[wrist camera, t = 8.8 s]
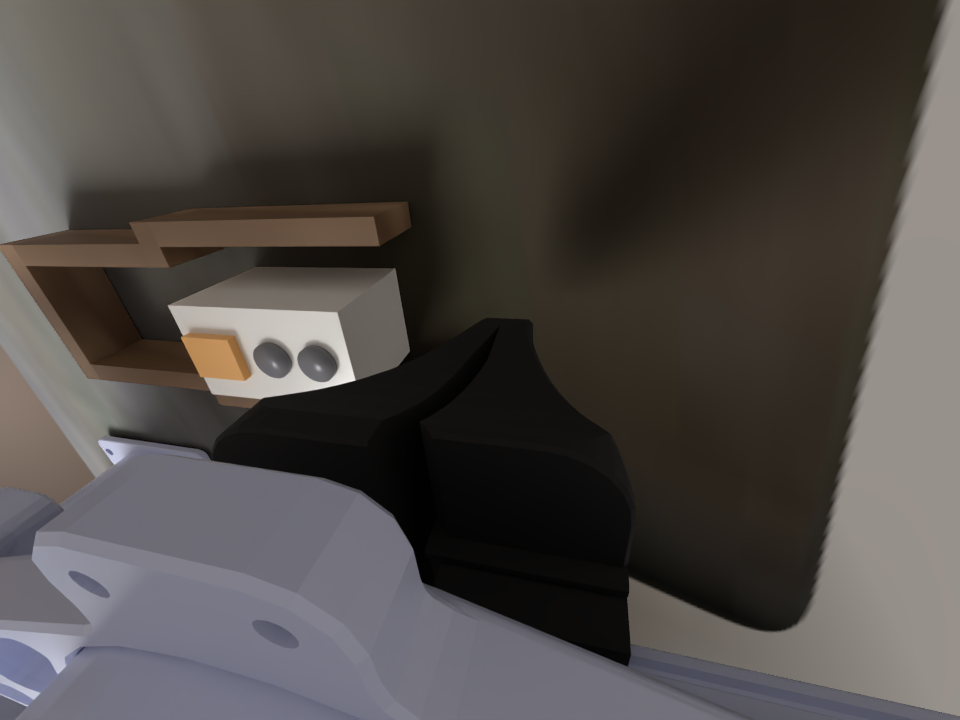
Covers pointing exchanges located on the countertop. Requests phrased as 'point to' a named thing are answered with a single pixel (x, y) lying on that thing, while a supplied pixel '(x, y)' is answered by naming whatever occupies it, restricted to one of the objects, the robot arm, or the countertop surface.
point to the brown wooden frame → (163, 244)
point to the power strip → (293, 329)
